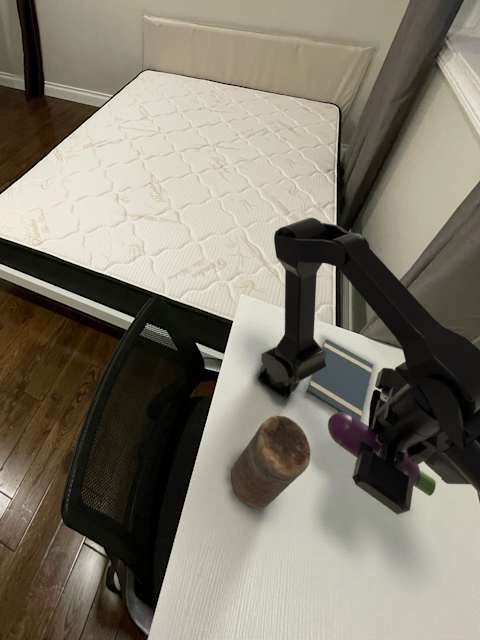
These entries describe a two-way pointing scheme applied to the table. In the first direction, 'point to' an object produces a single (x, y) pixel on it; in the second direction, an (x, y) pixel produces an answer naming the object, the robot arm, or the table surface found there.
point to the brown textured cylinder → (270, 461)
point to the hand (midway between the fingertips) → (367, 450)
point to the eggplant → (354, 431)
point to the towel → (342, 380)
